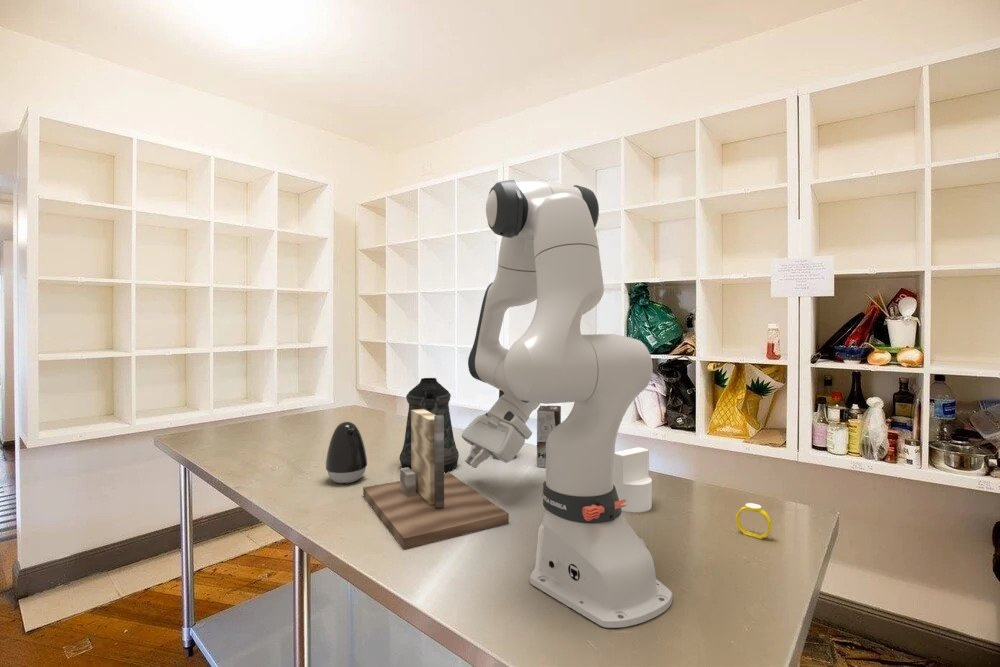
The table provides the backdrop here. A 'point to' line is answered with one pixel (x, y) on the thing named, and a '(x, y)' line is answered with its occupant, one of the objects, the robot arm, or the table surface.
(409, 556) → the table surface
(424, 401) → the beer stein
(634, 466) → the base with upright slab
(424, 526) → the wooden board with peg
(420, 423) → the wood grain panel
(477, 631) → the table surface
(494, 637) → the table surface
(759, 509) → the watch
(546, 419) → the coffee box
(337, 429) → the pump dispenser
